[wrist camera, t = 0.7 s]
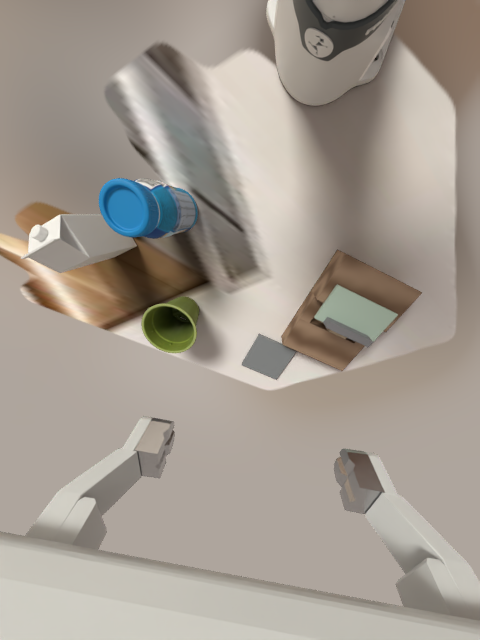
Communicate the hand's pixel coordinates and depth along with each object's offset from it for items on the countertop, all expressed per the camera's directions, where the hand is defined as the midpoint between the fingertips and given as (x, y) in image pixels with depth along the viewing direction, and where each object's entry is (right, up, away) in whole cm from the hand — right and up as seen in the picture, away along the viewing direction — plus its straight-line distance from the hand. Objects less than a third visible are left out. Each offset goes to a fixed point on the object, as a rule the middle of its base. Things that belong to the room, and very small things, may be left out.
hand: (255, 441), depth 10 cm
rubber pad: (+7, -4, +48) cm, 49 cm away
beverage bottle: (-13, +29, +34) cm, 47 cm away
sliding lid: (+23, +7, +34) cm, 42 cm away
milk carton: (-29, +25, +38) cm, 54 cm away
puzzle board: (+23, +8, +41) cm, 47 cm away
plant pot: (-15, +9, +44) cm, 48 cm away
